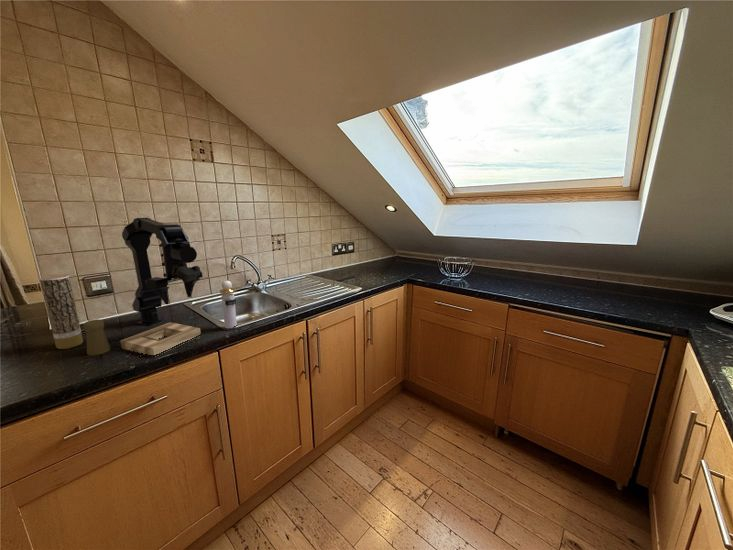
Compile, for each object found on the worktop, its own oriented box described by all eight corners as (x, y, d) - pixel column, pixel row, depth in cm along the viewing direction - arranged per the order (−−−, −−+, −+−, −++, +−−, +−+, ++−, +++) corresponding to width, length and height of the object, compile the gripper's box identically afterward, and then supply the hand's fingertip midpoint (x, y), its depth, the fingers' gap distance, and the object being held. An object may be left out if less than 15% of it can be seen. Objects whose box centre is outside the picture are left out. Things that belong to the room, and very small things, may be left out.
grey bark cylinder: (88, 341, 108) (74, 274, 102) (71, 350, 101) (55, 279, 95) (69, 341, 107) (54, 274, 102) (50, 350, 101) (33, 278, 95)
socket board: (121, 348, 102) (120, 340, 102) (170, 329, 119) (169, 322, 118) (154, 356, 97) (152, 348, 97) (200, 335, 114) (200, 328, 113)
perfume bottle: (220, 327, 121) (215, 280, 117) (234, 324, 125) (230, 278, 121) (227, 331, 117) (222, 283, 113) (241, 327, 122) (237, 280, 117)
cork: (115, 348, 102) (109, 318, 100) (95, 356, 97) (88, 325, 94) (102, 346, 104) (96, 316, 102) (82, 354, 98) (75, 323, 96)
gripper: (165, 266, 96) (171, 311, 99) (211, 257, 113) (215, 296, 117) (141, 263, 99) (147, 307, 103) (189, 255, 116) (193, 293, 120)
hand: (178, 300), depth 110 cm, fingers open, 9 cm apart
